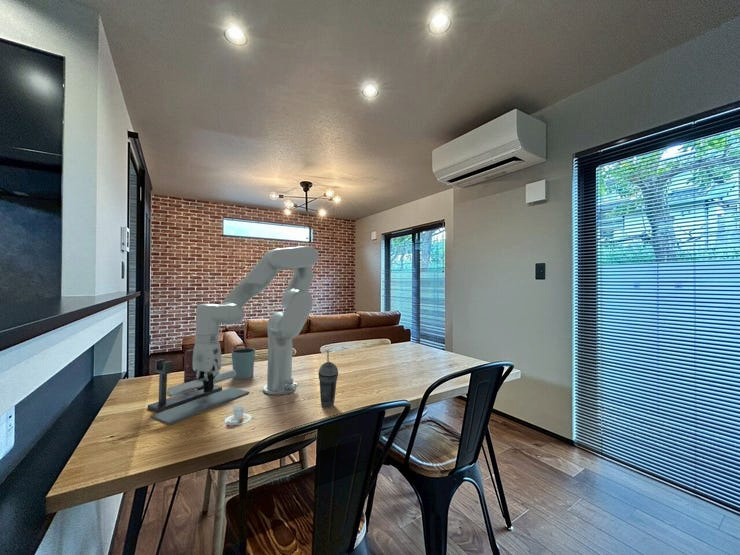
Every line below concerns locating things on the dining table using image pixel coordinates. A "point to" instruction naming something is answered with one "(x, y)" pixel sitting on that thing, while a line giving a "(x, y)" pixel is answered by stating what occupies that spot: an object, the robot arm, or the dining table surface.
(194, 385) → the steel rail
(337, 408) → the dining table surface
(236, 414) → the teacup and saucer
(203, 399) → the rubber mat
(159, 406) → the hook stands
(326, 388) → the beverage cup
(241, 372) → the teal tapered cup
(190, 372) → the can
